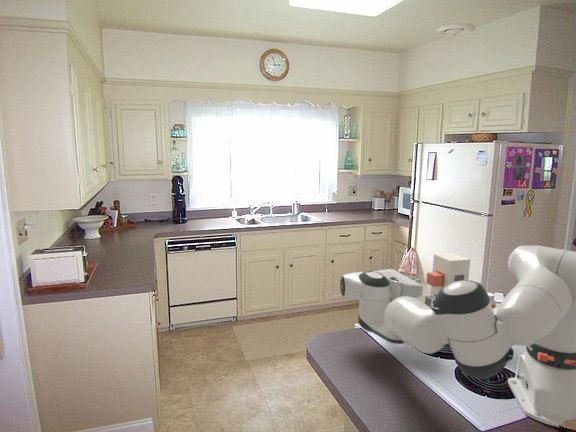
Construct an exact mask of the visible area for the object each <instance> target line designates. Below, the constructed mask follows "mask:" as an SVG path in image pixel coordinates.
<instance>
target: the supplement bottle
mask: <svg viewBox="0 0 576 432" xmlns="http://www.w3.org/2000/svg"><path fill="white" fill-rule="evenodd" d="M486 292H487V291H486ZM487 294H488V296H489V298H490V304H491V306H492V309H494V308H496V307H497V306H496V305H497V301H496V300H495V298H496V297H495V294H494V293H492V292H487Z"/></svg>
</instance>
